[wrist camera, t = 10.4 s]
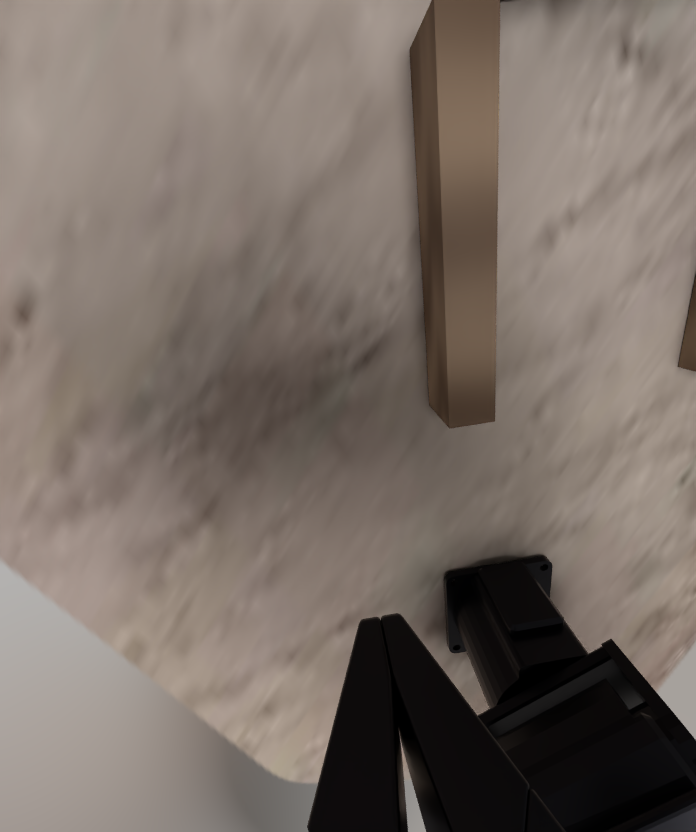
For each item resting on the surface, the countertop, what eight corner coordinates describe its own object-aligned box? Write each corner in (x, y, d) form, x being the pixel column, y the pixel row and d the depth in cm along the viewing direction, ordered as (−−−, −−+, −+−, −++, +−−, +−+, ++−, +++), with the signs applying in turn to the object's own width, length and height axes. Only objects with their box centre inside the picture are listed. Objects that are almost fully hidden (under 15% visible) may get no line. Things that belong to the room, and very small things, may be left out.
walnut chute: (715, 360, 20) (781, 376, 17) (429, 405, 19) (449, 428, 16) (797, 2, 15) (912, -61, 12) (409, 49, 14) (434, -5, 11)
